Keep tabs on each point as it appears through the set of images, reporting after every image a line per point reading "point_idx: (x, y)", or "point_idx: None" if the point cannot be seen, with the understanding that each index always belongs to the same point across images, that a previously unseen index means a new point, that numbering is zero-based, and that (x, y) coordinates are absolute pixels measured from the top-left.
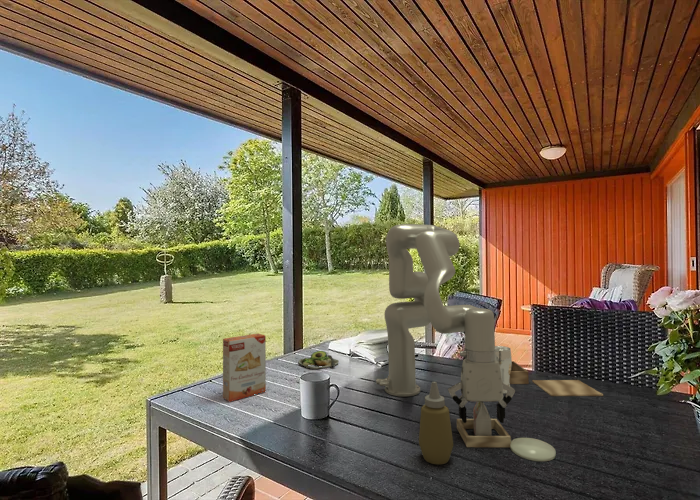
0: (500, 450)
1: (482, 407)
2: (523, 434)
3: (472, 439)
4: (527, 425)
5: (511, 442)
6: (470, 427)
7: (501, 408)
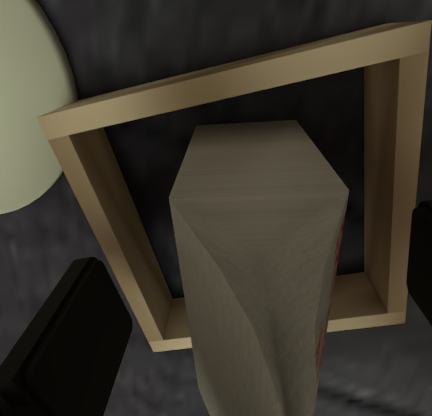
0: (139, 35)
1: (276, 342)
2: (30, 270)
3: (361, 34)
4: None
5: None
6: None
7: (14, 374)
